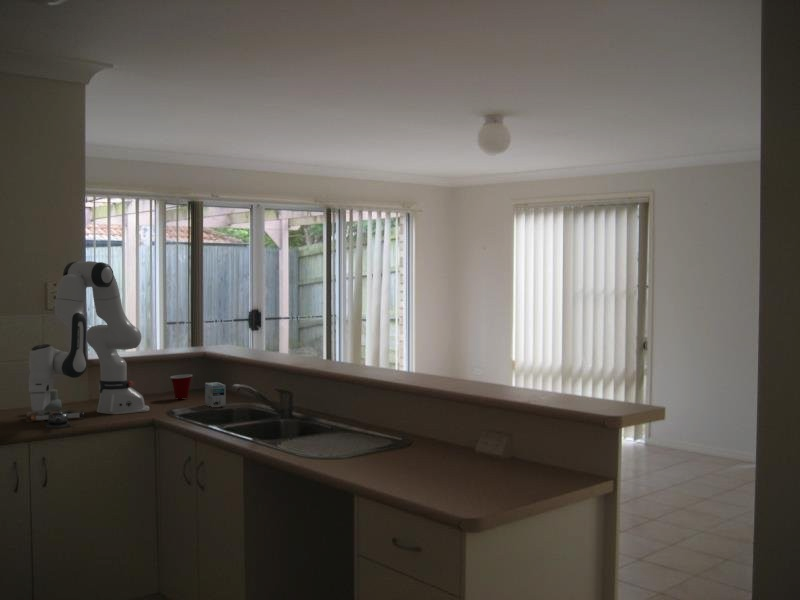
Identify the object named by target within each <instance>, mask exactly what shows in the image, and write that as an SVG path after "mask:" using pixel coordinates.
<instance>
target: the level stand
mask: <svg viewBox="0 0 800 600" xmlns="http://www.w3.org/2000/svg"><path fill="white" fill-rule="evenodd" d="M59 411H60V412H63V413H67V414H75V413H81V412H82V413H84V409H83V408H82V409H81V408H80V409H79V408H78V409H64V410H63V409H61V410H59ZM50 412H55V411H51V410H47V411H45V414H44V415H49V414H51V413H50ZM33 415H35V416H39V415H38V412H33V411H28V412H27V411H26V415H25V418H26V419H25V423H34V422H33V421H32V420H31V416H33ZM84 418H85V416H84V417H83V418H80V417H76V418H67V419H75V420H84ZM44 420H48V419H43V420H35V421H41V422H45V421H44Z"/></svg>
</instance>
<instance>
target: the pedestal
mask: <svg viewBox="0 0 800 600" xmlns="http://www.w3.org/2000/svg"><path fill="white" fill-rule="evenodd" d="M70 426H71V422H69V421H67V423H66V424H61V425H50V424H48V423H45V428H46V427H47V428H46V429H50V428H58V429H66V428H69V427H70ZM65 427H66V428H65Z"/></svg>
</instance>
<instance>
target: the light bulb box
mask: <svg viewBox="0 0 800 600" xmlns="http://www.w3.org/2000/svg"><path fill="white" fill-rule="evenodd" d="M226 386H227V385H226V384H223V383H221V382H218V381H216V382H205V383H204V404H205V403H206V404H209V405H211V406H216V405H225V404H226V399H227V398H226V397H227V394H226V393H227V392H226Z"/></svg>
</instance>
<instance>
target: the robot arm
mask: <svg viewBox="0 0 800 600" xmlns="http://www.w3.org/2000/svg"><path fill="white" fill-rule="evenodd" d="M62 275H63V276H62V277H61V278H60V280H59V284H58V286H57V290H56V295H55V300H54V314H55V316H56V317H57V318H58V319H59V320H60V321H61V322H63V323H64V324H65V325H66V326H67V328H68V330H69V347H68V348H69V351H65V350H63V351H62V350H61V349H57V348H55V347H53V346H52V345H51V344H50V343H49V344H48V343H47V344H46V343H44V344H38V345H35V346H33V347H32V348H31V349H30V350H29V351H30V352H29V356H28V357H29V358H28V368H29V376H28V393H29V394H30V395H29V396H30V408H31V412H38V415H39V416H42V415H44V414H45V407H47V406H48V405H49V404H50V390H51V389H54V375H59V376H66V377H70V378H72V379H75V378H79V377H81V376H83V374H85V372H86V371H87V369H88V358H87V350H86V348H87V345H86V343H87V344H88V346H90V348H92V349H93V350H94V352H95V354H96V355H97V358H98V362H99V369H100V370H99V371H100V380H99V383H98V384H99V386H98V388H99V400H98V405H97V407H96V408H97V409H96V412H97V413H99V414H110V415H121V414H133V413H142V412H143V413H144V412H145V413H146V412H148V411H150V406H149V405H146V404H145V399H144V396H143V394H141V393H140V392H138V391H137V390H135V389H134V388H133V387H132V386H133V385H134V382H133V381H132V380H129V379H128V378H127V377H128V376H127V372H128V370H127V367H128V364H127V361H126V360H125V359H124V358H122V357H121V356H120V354H119V352H118V350H122V351H123V350H124V351H127V350H133V349H137V348H138V347H139V346H140V344H141V341H142V333H141V331H140V329H139V328H138V327H136V326H135V325H134V324H133V323H132V322H131V321H130V320H129V318H128V317H127V315H126V314H125V312H124V308H123V304H122V300H121V299H122V298H121V293H120V289H119V286H118V281H117V279H116V276H115V275H114V270H113V268H112V267H111V266H110V264H108V263H106V262H100V261H90V260H89V261H72V262H69V263H67V264H66V266H65V267H64V269H63V273H62ZM87 288H92V298H93V304H94V309H95V313H96V316H97V317H98V318H99V319H101V320H102V321H104V323H106V324H96V325H92V326H91V327H89V328H88V330H87V322H86V317H85V313H84V312H85V311H84V305H85V298H86V289H87Z"/></svg>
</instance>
